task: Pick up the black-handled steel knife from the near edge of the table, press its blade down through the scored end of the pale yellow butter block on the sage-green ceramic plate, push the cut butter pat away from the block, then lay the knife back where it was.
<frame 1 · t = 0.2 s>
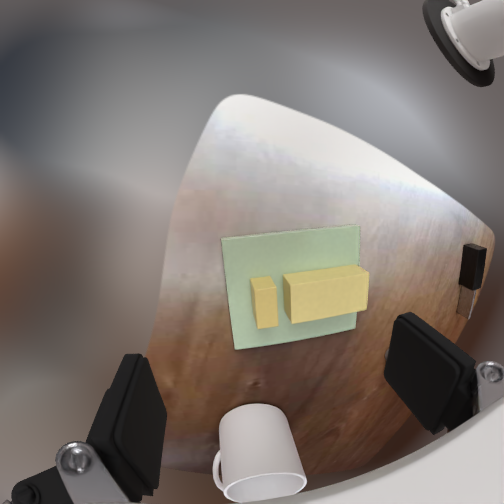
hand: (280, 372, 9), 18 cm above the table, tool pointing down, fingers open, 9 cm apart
butter: (320, 287, 28), point 1 cm above the table, touching butter plate
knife: (465, 263, 31), on the table
butter plate: (295, 287, 28), on the table
butter pat: (261, 295, 27), point 1 cm above the table, touching butter plate
mug: (246, 426, 33), on the table
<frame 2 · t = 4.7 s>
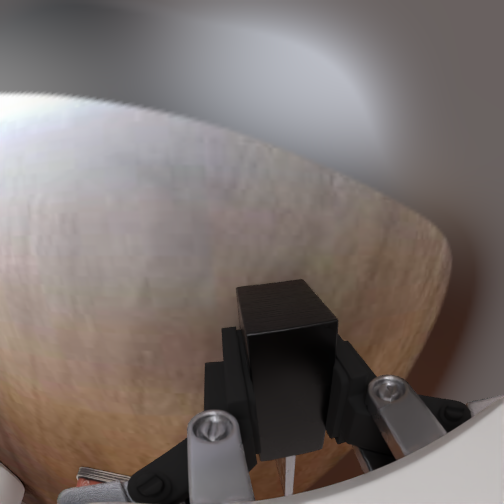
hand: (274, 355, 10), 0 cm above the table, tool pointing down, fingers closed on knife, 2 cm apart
lighter: (130, 483, 12), on the table
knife: (273, 352, 10), on the table, touching gripper
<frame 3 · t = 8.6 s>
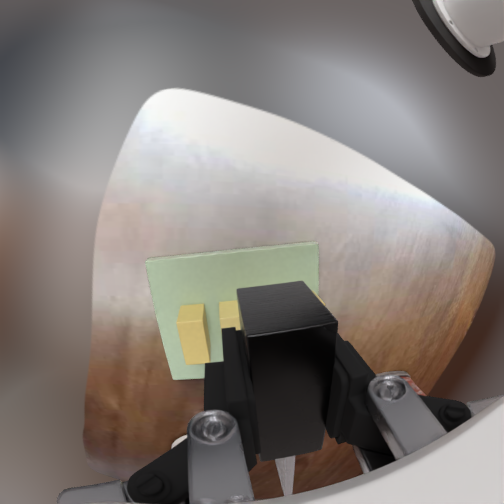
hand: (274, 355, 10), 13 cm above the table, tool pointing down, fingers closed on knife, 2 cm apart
butter: (268, 317, 23), point 1 cm above the table, touching butter plate
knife: (273, 353, 10), point 13 cm above the table, touching gripper
butter plate: (238, 315, 24), on the table
butter pat: (195, 325, 22), point 1 cm above the table, touching butter plate
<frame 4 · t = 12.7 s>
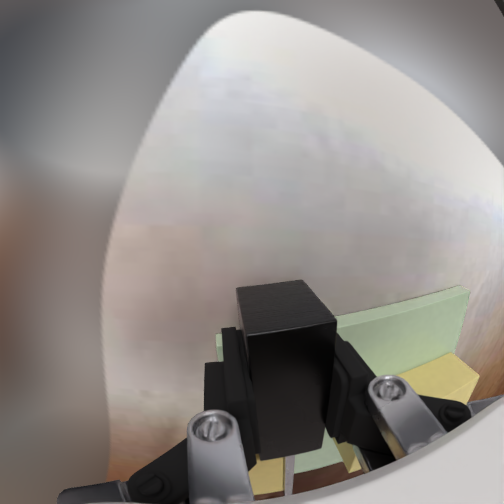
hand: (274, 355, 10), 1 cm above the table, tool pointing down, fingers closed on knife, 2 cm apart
butter: (396, 396, 13), point 1 cm above the table, touching butter plate
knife: (273, 352, 10), point 1 cm above the table, touching butter pat, gripper
butter plate: (353, 398, 13), on the table
butter pat: (253, 434, 12), point 1 cm above the table, touching butter plate, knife
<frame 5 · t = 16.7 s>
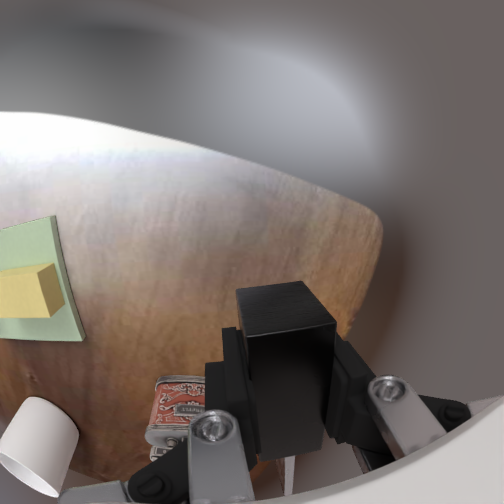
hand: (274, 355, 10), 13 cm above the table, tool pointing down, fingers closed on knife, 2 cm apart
lighter: (194, 386, 25), on the table
butter: (30, 286, 20), point 1 cm above the table, touching butter plate
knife: (273, 353, 10), point 13 cm above the table, touching gripper
butter plate: (20, 284, 20), on the table
mug: (51, 421, 25), on the table
when the fingers open (0 cm above the table, at t = 19.6 s): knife stays where it is, on the table.
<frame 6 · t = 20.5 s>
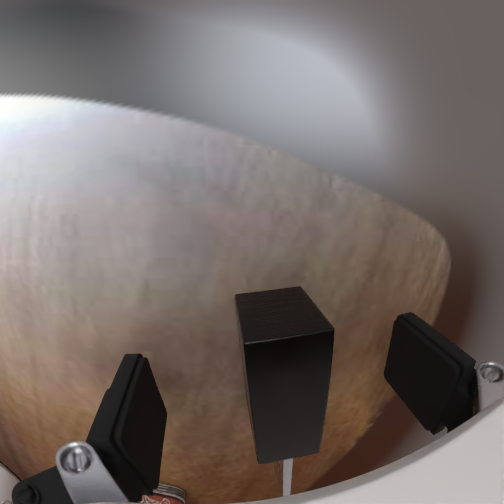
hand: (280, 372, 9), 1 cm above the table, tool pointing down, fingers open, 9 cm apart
lighter: (130, 483, 12), on the table
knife: (272, 357, 10), on the table
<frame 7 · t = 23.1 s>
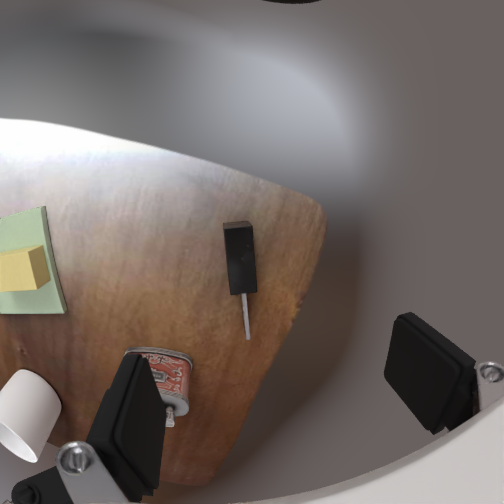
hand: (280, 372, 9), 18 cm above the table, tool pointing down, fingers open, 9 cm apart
lighter: (158, 358, 29), on the table
butter: (23, 265, 23), point 1 cm above the table, touching butter plate
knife: (238, 252, 27), on the table
butter plate: (15, 265, 24), on the table
mug: (38, 394, 28), on the table
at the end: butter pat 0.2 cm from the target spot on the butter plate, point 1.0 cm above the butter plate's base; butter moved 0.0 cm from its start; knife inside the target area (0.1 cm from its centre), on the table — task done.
